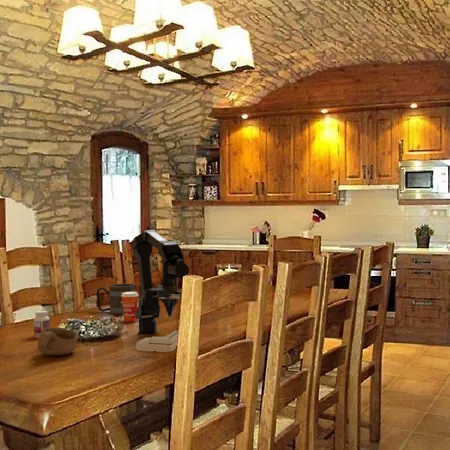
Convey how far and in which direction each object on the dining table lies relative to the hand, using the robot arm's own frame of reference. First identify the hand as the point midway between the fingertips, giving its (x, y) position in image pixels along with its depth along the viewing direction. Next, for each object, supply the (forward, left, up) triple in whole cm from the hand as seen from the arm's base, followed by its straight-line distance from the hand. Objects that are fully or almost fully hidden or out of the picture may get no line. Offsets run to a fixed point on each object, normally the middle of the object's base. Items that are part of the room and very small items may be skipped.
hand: (170, 316), depth 250 cm
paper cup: (-32, +38, -11) cm, 51 cm away
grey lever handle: (+5, -9, -7) cm, 13 cm away
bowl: (-33, -27, -11) cm, 44 cm away
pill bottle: (-55, +1, -11) cm, 56 cm away
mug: (-47, +57, -11) cm, 74 cm away
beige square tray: (-1, -9, -11) cm, 14 cm away
